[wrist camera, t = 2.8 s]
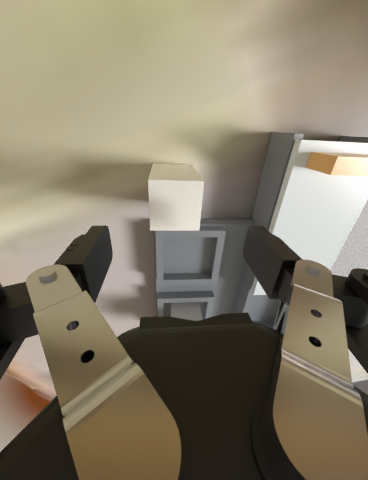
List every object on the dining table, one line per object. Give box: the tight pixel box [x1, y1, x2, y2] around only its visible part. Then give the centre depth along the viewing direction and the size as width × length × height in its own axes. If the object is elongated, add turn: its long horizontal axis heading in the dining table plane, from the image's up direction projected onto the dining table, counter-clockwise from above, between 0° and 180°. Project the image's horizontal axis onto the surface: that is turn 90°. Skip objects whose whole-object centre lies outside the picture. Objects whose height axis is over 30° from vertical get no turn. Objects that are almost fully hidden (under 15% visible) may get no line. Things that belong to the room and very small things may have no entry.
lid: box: [251, 139, 368, 295], centre depth 19 cm, size 16×8×4 cm, turn 177°
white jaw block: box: [148, 163, 204, 231], centre depth 18 cm, size 4×4×7 cm
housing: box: [154, 132, 368, 328], centre depth 22 cm, size 27×20×8 cm
